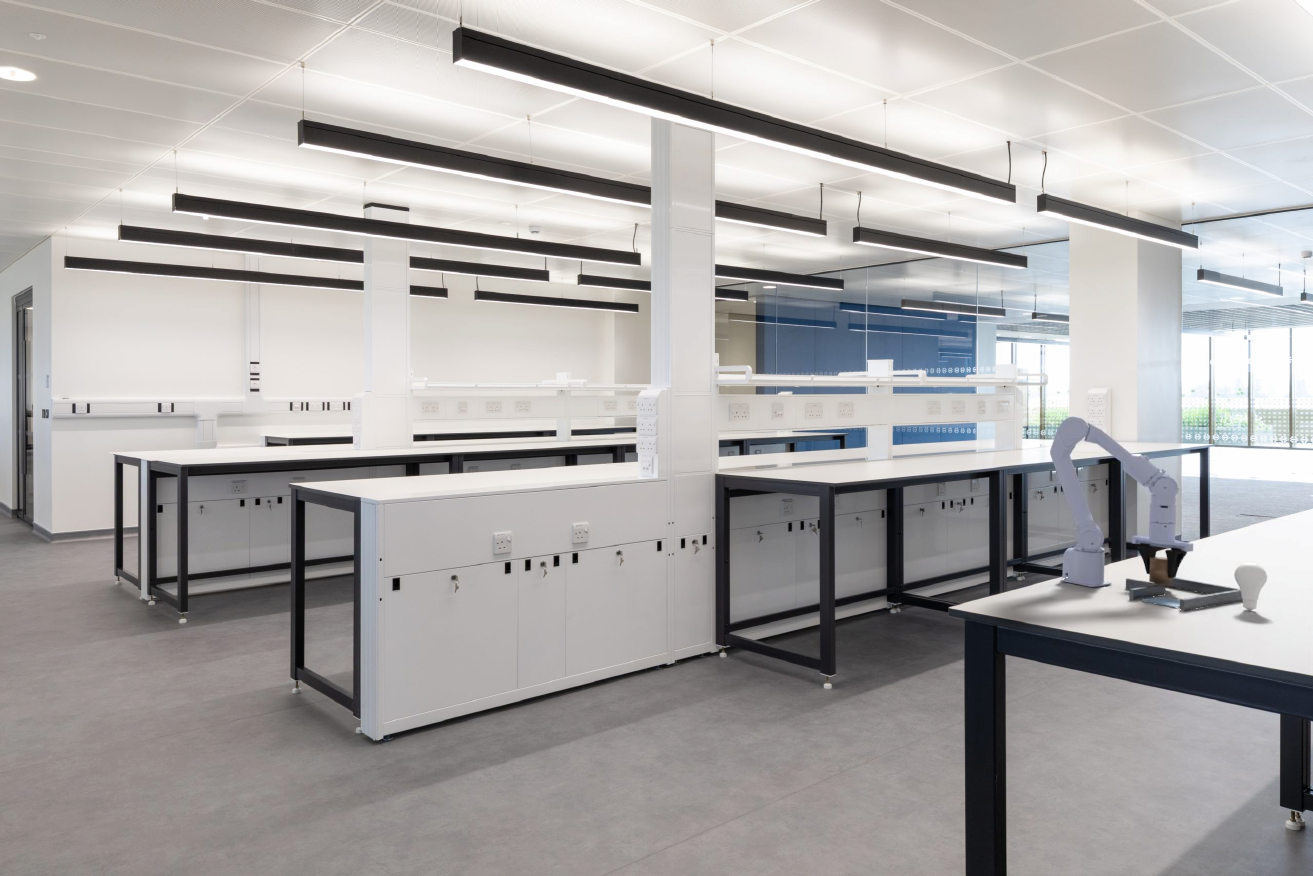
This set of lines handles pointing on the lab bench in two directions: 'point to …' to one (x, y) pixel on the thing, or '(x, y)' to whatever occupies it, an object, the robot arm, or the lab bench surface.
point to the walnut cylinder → (1159, 570)
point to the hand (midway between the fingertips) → (1160, 575)
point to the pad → (1164, 601)
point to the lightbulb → (1250, 583)
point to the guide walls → (1214, 596)
